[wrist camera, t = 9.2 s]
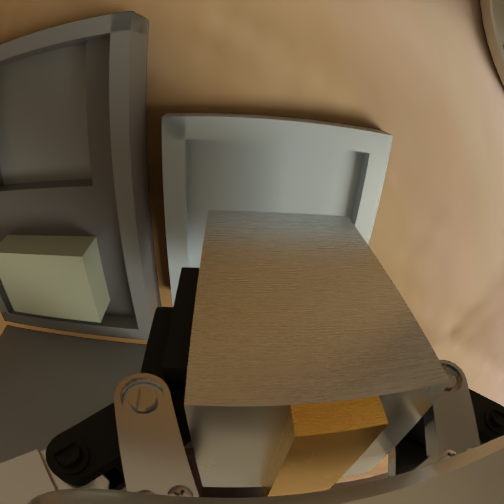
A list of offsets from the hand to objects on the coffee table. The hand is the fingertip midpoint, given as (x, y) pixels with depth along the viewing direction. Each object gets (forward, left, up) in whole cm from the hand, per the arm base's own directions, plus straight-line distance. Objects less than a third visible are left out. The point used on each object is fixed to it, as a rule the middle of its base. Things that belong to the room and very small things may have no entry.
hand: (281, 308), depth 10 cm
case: (-2, -11, -7) cm, 13 cm away
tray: (0, 0, -7) cm, 7 cm away
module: (0, 0, -2) cm, 2 cm away
